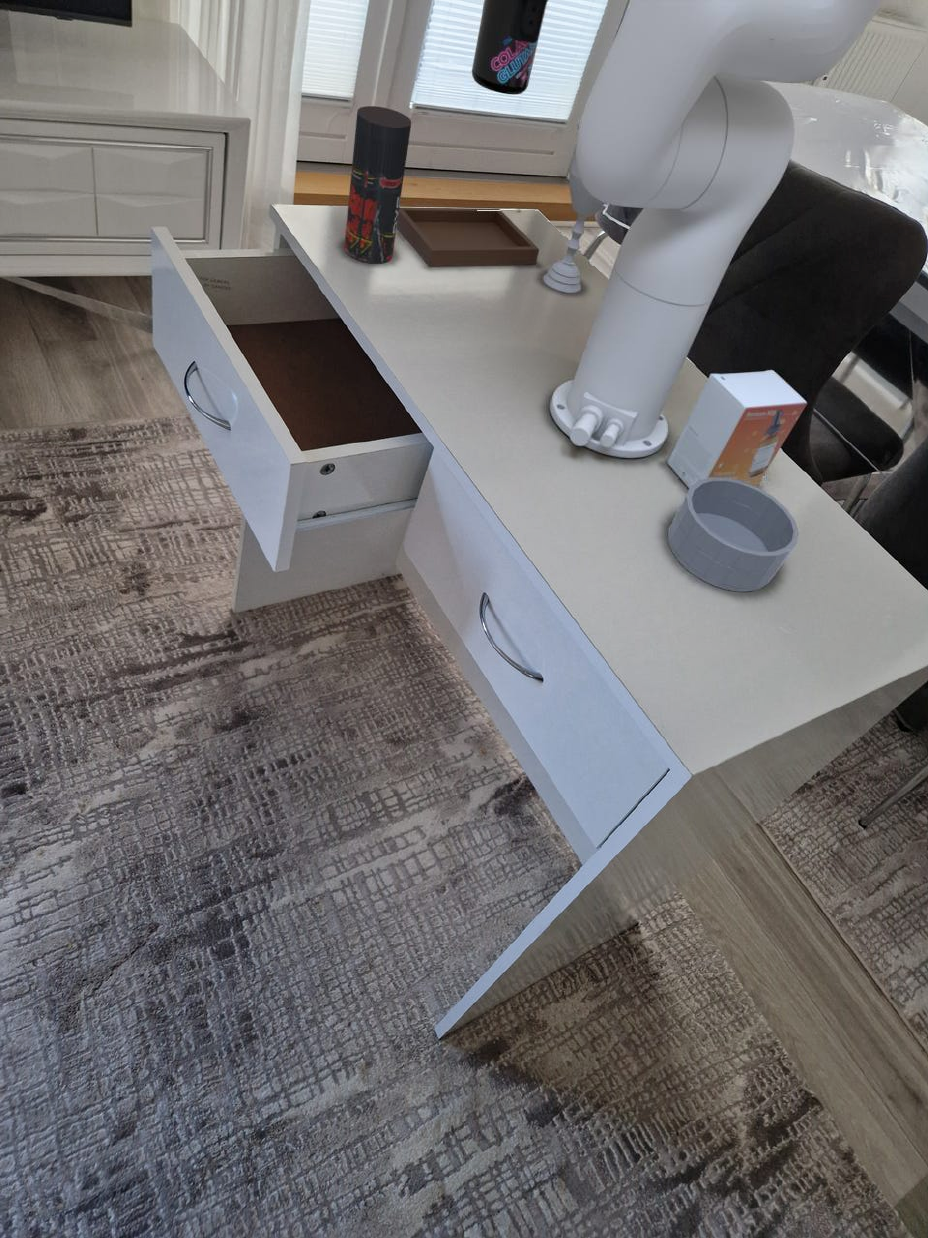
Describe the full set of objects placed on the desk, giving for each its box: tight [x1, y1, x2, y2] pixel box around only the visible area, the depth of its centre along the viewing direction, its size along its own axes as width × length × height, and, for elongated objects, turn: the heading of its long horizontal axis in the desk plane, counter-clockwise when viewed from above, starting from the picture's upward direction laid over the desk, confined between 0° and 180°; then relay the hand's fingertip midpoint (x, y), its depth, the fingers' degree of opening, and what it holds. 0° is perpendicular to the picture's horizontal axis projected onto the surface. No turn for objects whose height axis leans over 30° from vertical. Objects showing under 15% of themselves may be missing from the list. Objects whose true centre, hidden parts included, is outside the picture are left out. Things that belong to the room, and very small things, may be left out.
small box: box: [667, 369, 808, 489], centre depth 79 cm, size 8×6×10 cm
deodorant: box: [343, 105, 412, 265], centre depth 94 cm, size 6×6×15 cm
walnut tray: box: [396, 206, 540, 268], centre depth 106 cm, size 16×12×2 cm
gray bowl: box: [667, 477, 800, 593], centre depth 73 cm, size 10×10×4 cm
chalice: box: [542, 118, 606, 294], centre depth 99 cm, size 7×7×18 cm
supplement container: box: [471, 0, 549, 96], centre depth 90 cm, size 7×7×10 cm
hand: (509, 26), depth 89 cm, fingers closed on supplement container, 6 cm apart
